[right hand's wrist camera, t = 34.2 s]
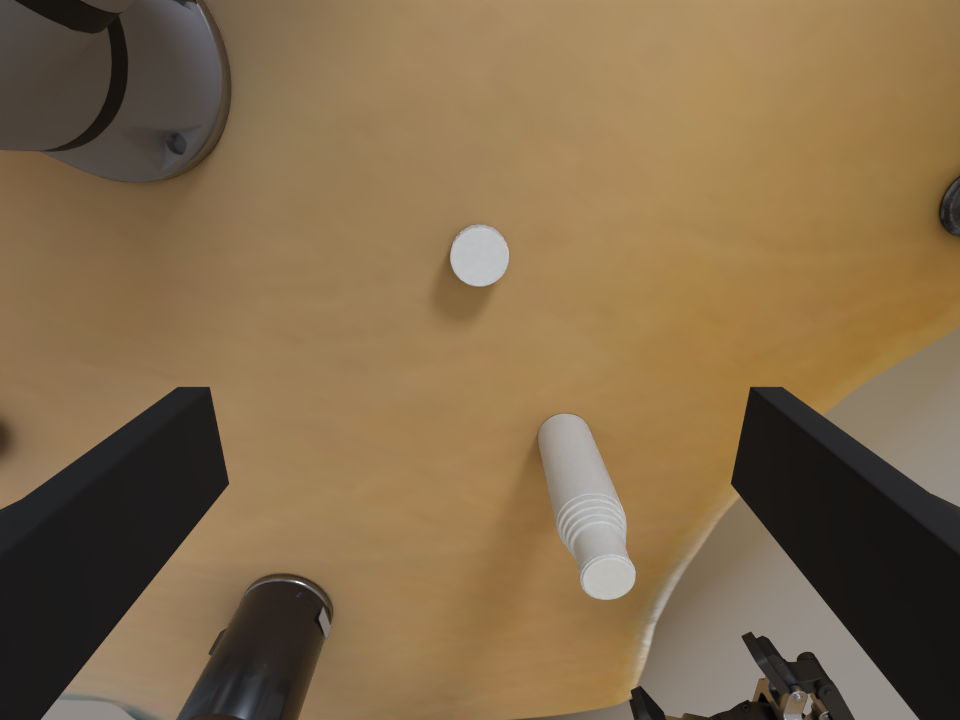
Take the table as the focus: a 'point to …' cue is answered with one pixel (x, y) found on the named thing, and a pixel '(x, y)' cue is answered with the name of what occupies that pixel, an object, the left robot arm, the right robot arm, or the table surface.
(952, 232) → the grey chess piece
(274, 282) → the table surface
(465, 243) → the cap
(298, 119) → the table surface
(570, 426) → the bottle
